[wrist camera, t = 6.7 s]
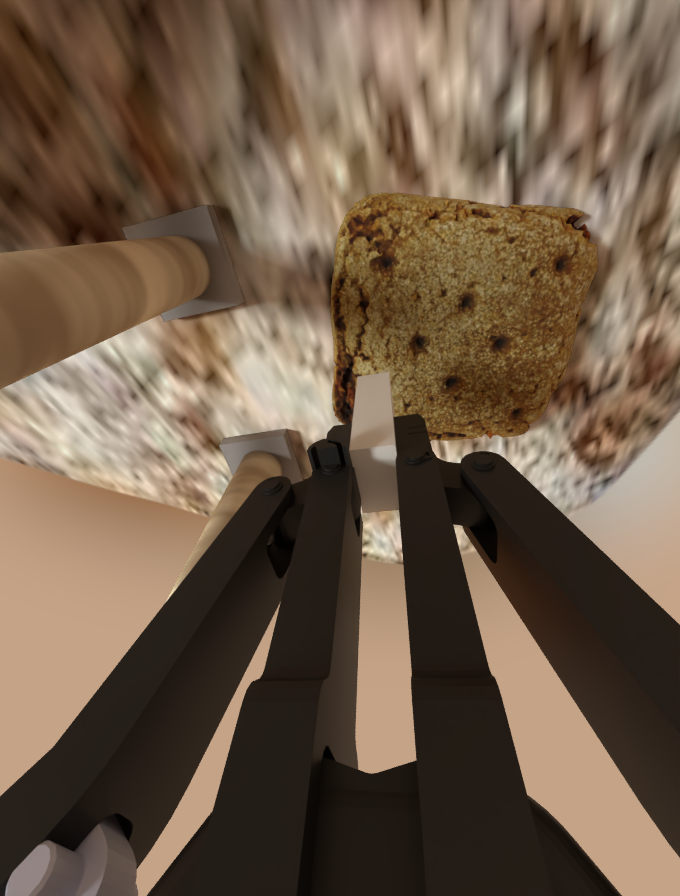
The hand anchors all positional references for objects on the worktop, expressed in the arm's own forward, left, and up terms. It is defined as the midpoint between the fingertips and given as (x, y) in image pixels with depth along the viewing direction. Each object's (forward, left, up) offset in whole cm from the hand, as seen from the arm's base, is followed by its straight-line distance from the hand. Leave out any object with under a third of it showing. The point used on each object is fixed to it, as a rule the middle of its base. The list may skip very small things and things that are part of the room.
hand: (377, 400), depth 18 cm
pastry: (+4, +1, -7) cm, 9 cm away
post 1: (-10, +7, -7) cm, 14 cm away
